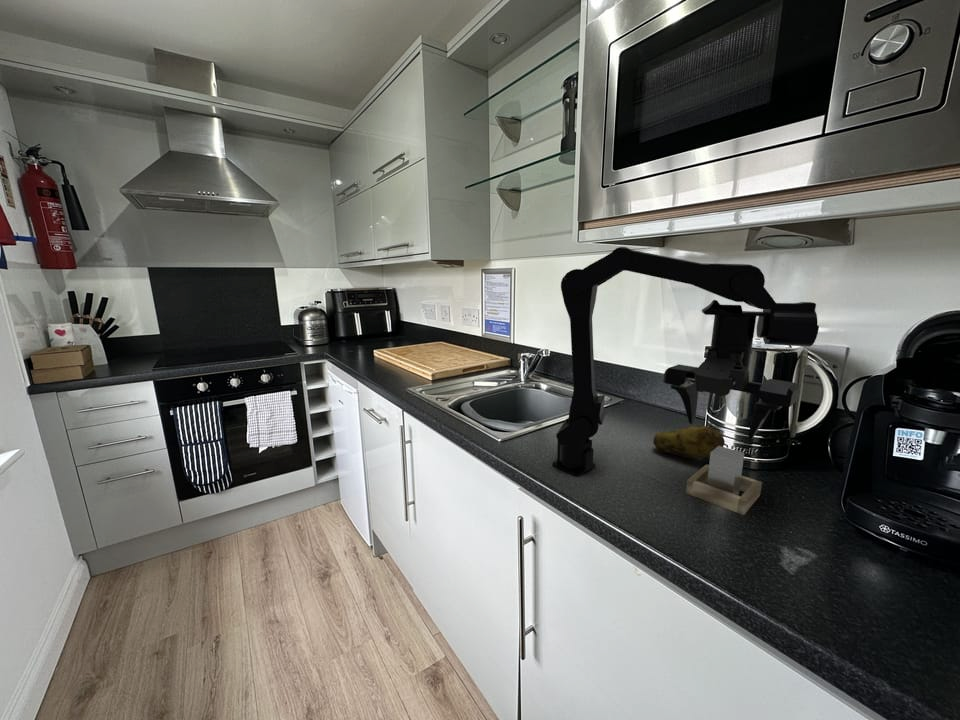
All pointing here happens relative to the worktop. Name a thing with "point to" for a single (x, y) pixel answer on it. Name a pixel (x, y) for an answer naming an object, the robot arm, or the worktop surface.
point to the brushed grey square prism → (725, 469)
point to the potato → (689, 441)
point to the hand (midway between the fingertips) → (719, 430)
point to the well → (724, 492)
